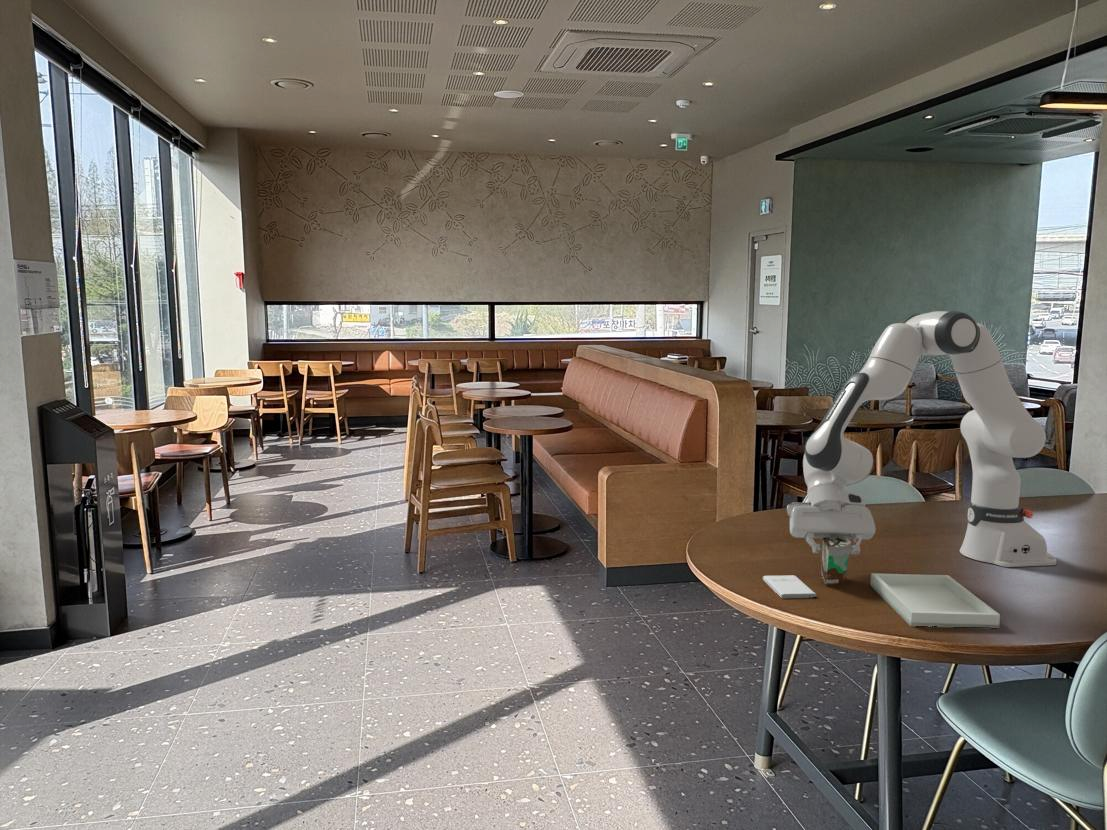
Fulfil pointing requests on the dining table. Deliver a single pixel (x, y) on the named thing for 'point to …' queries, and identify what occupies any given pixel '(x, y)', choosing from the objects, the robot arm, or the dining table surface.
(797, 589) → the external hard drive
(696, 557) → the dining table surface
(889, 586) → the tray
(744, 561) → the dining table surface
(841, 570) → the food container
